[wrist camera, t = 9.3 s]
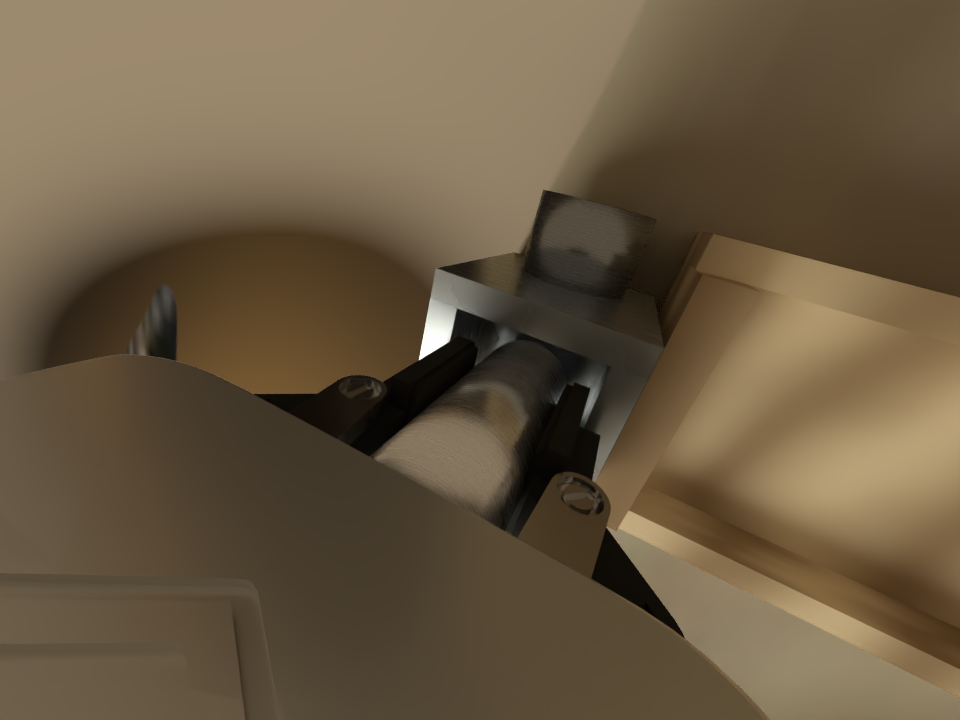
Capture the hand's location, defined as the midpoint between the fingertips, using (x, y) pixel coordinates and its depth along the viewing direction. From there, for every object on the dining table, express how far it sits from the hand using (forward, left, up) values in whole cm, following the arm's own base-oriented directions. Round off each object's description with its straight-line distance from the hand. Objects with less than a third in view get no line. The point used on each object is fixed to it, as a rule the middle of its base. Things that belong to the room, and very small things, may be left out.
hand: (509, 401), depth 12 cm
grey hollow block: (0, -1, -8) cm, 8 cm away
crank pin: (0, 0, -2) cm, 2 cm away
